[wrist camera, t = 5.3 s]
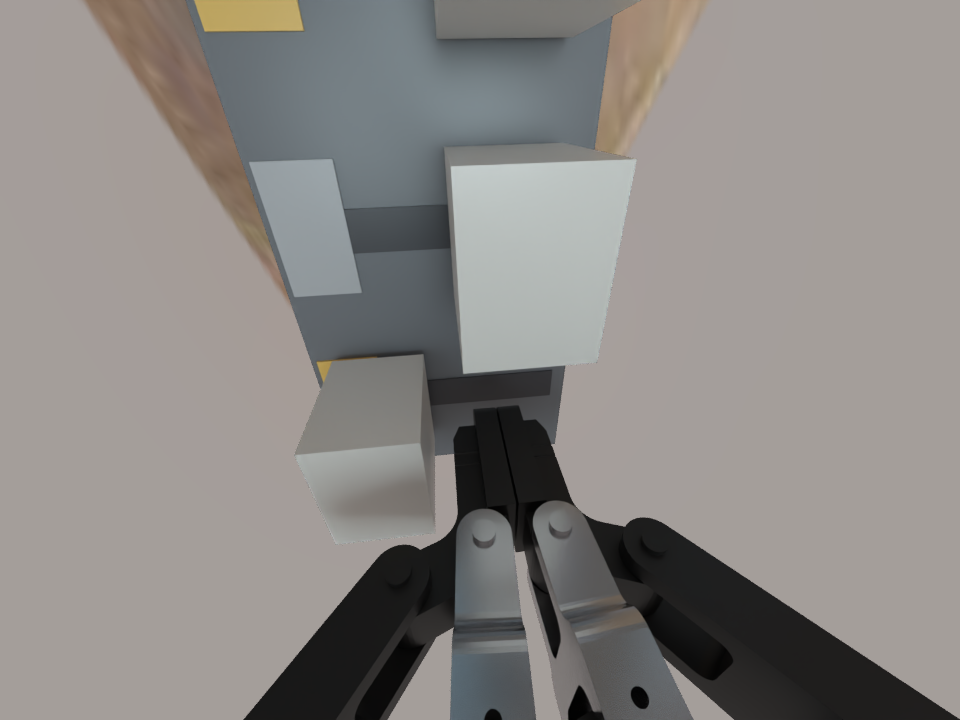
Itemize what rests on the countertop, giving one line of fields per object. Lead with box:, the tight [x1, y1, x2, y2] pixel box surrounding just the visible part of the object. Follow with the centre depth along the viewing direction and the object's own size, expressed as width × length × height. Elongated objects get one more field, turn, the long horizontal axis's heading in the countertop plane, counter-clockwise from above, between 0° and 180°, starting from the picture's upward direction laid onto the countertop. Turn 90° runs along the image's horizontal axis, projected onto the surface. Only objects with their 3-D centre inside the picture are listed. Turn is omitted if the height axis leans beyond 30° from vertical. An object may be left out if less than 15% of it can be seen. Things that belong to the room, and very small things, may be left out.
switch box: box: [186, 0, 613, 456], centre depth 17 cm, size 9×19×16 cm, turn 1°
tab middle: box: [444, 143, 637, 374], centre depth 8 cm, size 3×4×4 cm
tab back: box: [294, 354, 435, 545], centre depth 12 cm, size 3×4×4 cm
